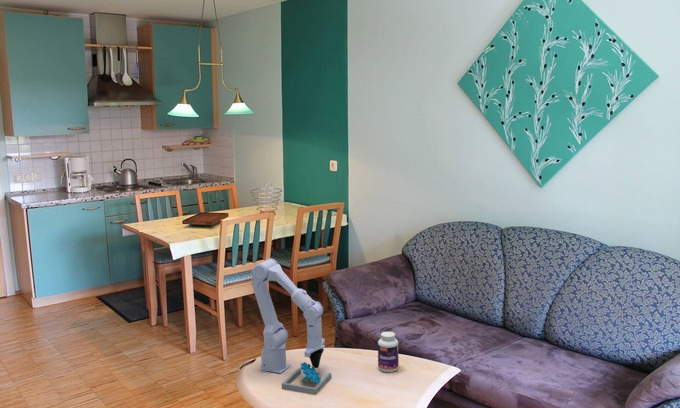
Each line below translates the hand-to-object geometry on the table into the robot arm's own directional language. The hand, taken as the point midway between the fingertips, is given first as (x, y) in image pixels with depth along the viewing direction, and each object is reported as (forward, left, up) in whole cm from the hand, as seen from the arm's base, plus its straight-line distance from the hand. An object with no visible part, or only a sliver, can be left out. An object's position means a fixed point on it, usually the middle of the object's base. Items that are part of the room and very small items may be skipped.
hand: (315, 367), depth 231 cm
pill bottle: (+25, +14, -3) cm, 29 cm away
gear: (+1, -6, -3) cm, 7 cm away
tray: (0, -7, -3) cm, 8 cm away
